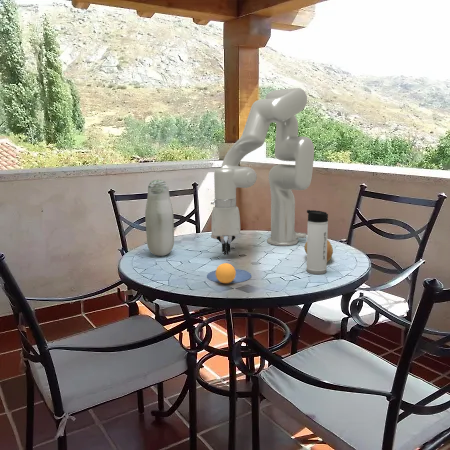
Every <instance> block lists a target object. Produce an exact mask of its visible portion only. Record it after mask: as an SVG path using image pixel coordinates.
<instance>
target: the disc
mask: <svg viewBox="0 0 450 450" xmlns="http://www.w3.org/2000/svg"><path fill="white" fill-rule="evenodd" d="M234 269H235V271H236V275H235V278H234V280H233V281H232V282H230V283H229V284H237V283H243V282H246V281H248V280H250V279H251V278H252V274H251V273H250V271H247V270H245V269H244V270H243V269H241V268H234ZM206 278H207V279H208V280H210V281H211V282H214V283H220V284H222V283H221V282H220V281H219V280H218V279H217V277H216V269H215V270H212V271H210V272H208V273H207V275H206Z"/></svg>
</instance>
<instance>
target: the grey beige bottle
mask: <svg viewBox="0 0 450 450" xmlns="http://www.w3.org/2000/svg"><path fill="white" fill-rule="evenodd" d="M146 199H147V200H146V205H145V213H144V215H145V217H144V218H145V232H146V233H145V234H146V235H145V236H146V244H147V248H148V250H149V252H150V253H151V254H153V255H155V256H157V257H158V256H159V257H160V256H161V257H163V256H166V255H169V254H170V253H171V252H172V250H173V248H174V246H175V229H174V228H175V225H174V224H175V223H174V221H175V220H174V219H175V217H174V210H173V206H172V201H171V197H170V189H169V185H168V183H167V182H166V181H165V180H162V179H154V180H151V181H150V183H149V184H148V186H147V198H146Z"/></svg>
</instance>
